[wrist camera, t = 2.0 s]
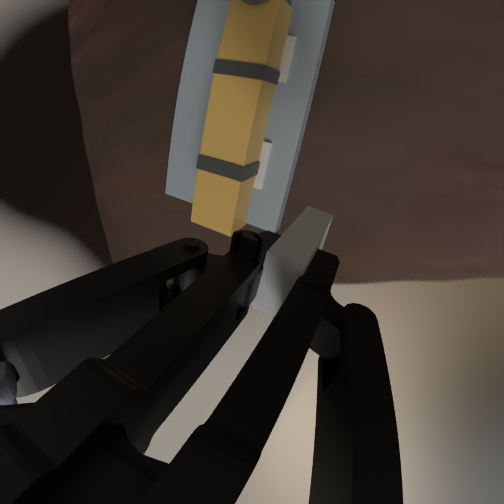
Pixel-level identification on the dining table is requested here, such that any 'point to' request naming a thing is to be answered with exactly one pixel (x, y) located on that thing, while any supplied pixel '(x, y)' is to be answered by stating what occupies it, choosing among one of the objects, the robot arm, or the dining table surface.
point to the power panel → (281, 112)
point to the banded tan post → (239, 111)
